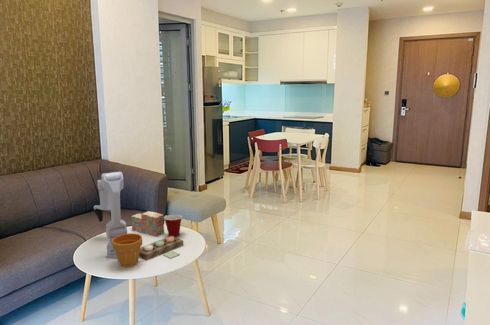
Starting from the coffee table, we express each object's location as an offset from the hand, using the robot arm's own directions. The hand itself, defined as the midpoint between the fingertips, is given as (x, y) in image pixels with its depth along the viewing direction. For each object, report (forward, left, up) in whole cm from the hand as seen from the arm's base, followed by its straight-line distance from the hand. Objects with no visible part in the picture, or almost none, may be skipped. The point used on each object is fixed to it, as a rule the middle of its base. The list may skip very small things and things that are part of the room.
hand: (107, 221), depth 215 cm
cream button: (-16, -33, -8) cm, 38 cm away
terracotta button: (-4, -40, -8) cm, 41 cm away
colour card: (-15, -46, -10) cm, 49 cm away
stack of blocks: (+13, -19, -10) cm, 25 cm away
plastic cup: (+10, -37, -10) cm, 40 cm away
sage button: (-10, -37, -8) cm, 39 cm away
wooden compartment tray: (-10, -37, -10) cm, 40 cm away
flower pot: (-27, -28, -10) cm, 40 cm away
